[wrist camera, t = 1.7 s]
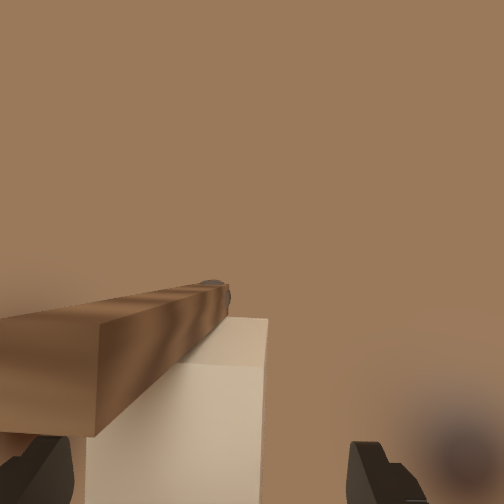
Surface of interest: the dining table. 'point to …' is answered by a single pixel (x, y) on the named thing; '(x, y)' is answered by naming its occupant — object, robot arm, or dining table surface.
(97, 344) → the lever handle
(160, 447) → the post
